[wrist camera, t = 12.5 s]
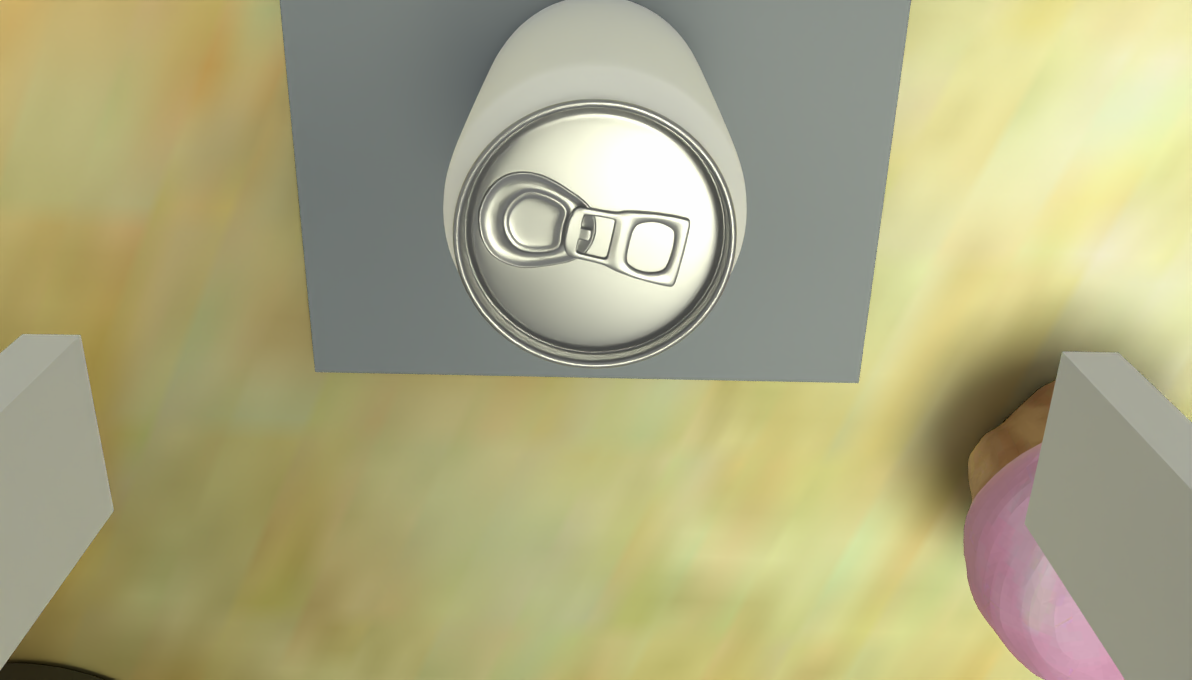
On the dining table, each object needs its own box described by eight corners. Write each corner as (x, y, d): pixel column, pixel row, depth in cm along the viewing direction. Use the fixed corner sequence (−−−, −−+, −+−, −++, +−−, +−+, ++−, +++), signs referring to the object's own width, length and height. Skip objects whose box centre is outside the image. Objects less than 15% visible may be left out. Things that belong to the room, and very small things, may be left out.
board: (323, 356, 37) (315, 372, 36) (269, -242, 30) (256, -245, 29) (851, 367, 37) (858, 383, 36) (929, -225, 30) (942, -228, 29)
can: (507, -31, 31) (458, 42, 20) (729, 19, 31) (799, 116, 20) (470, 186, 33) (408, 355, 23) (675, 228, 34) (712, 414, 23)
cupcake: (1204, 471, 39) (1388, 663, 30) (987, 588, 41) (1097, 800, 32) (1095, 285, 36) (1262, 435, 27) (867, 421, 38) (952, 603, 29)
